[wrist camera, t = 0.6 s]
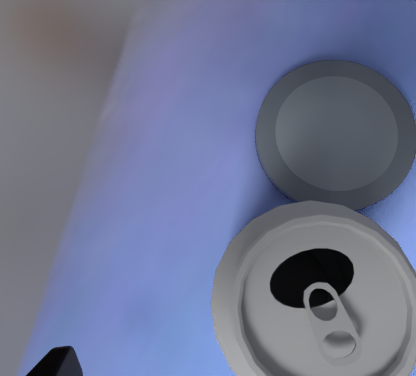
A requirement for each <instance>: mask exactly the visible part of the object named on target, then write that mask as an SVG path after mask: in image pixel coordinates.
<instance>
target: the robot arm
mask: <svg viewBox="0 0 416 376" xmlns="http://www.w3.org/2000/svg"><path fill="white" fill-rule="evenodd" d="M26 376H83V372H82V369H81V366H80V363H79V361H78V358H77V356H76V353H75V350H74V348H73V347H71V346H63V347H55V348H53V349H51V350H50V351H49V352H48V353H47V354H46V355H45V356H44V357H43V358H42V359H41V361H40V362H39V363H38V364H37V365H36V366H35V367H34V368H33V369H32V370H31V371H30V372H29V373H28V374H27V375H26Z"/></svg>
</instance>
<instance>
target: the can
mask: <svg viewBox="0 0 416 376" xmlns="http://www.w3.org/2000/svg"><path fill="white" fill-rule="evenodd" d="M211 309H212V316H213V322H214V329H215V336H216V339H217V341H218V343H219V345H220V347H221V349H222V351H223V353H224V356H225V358H226V360H227V362H228V364H229V366H230V368H231V370H232V371H233V372H234V373H235V374H236V375H237V376H409V375H410V374H411V372H412V371H413V368H414V366H415V363H416V273H415V270H414V269H413V267H412V265H411V264H410V262H409V260H408V259H407V257H406V256H405V254H404V252H403V251H402V249H401V247H400V246H399V244H398V242H397V241H396V240H395V239H393V238H392V237H391V236H390V235H389V234H388V233H387V232H386V231H385V230H383V229H382V228H381V227H380V226H379V225H378V224H377V223H376V222H375V221H373V220H372V219H371V218H368V217H366V216H364V215H362V214H360V213H358V212H356V211H354V210H352V209H350V208H347V207H345V206H343V205H338V204H332V203H325V202H318V201H311V200H310V201H304V202H298V203H292V204H285V205H280V206H278V207H276V208H274V209H272V210H270V211H268V212H266V213H264V214H262V215H260V216H258V217H256V218H254V219H252V220H251V221H250V222H249V223H248V224H247V225H246V226H245V227H244V228H243V229H242V230H241V231H240V232H239V233H238V234H237V235H236V236H235V237H234V238H233V239H232V240H231V241H230V243H229V245H228V247H227V249H226V251H225V253H224V255H223V257H222V259H221V261H220V263H219V265H218V267H217V269H216V272H215V278H214V285H213V291H212V298H211Z"/></svg>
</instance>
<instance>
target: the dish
mask: <svg viewBox="0 0 416 376" xmlns="http://www.w3.org/2000/svg"><path fill="white" fill-rule="evenodd" d="M255 144H256V151H257V155H258V158H259V161H260V164H261V166H262V168H263V170H264V172H265V174H266V175H267V177H268V179H269V180H270V181H271V182H272V184H273V185H274V186H275V187H276V188H277V189H278V190H279V191H280V192H281V193H282V194H284V195H285V196H286V197H287V198H289V199H290V200H292V201H294V202H295V203H298V202H304V201H310V200H311V201H318V202H325V203H332V204H338V205H343V206H345V207H347V208H350V209H352V210H354V211H356V210H360V209H362V208H365V207H368V206H370V205H372V204H375V203H377V202H378V201H380V200H382V199H384V198H385V197H387V196H388V195H389V194H391V193H392V192H393V191H394V190H395V189H396V188H397V187H398V186H399V185H400V184H401V183H402V181H403V180H404V179H405V177H406V176H407V174H408V172H409V170H410V169H411V166H412V164H413V161H414V158H415V153H416V124H415V120H414V116H413V114H412V111H411V109H410V107H409V105H408V103H407V101H406V99H405V98H404V96H403V95H402V94H401V92H400V91H399V90H398V89H397V88H396V87H395V85H394V84H392V83H391V82H390V81H389V80H388V79H387V78H385V77H384V76H382V75H381V74H379V73H378V72H376V71H374V70H372V69H370V68H368V67H366V66H363V65H361V64H358V63H353V62H349V61H342V60H324V61H317V62H313V63H309V64H306V65H303V66H301V67H298V68H296V69H295V70H293V71H291V72H289V73H288V74H286V75H285V76H284V77H282V78H281V79H280V80H279V81H278V82H277V83H276V84H275V85H274V86H273V87H272V89H271V90H270V91H269V93H268V94H267V96H266V97H265V99H264V101H263V103H262V105H261V108H260V111H259V114H258V118H257V123H256V130H255Z"/></svg>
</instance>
